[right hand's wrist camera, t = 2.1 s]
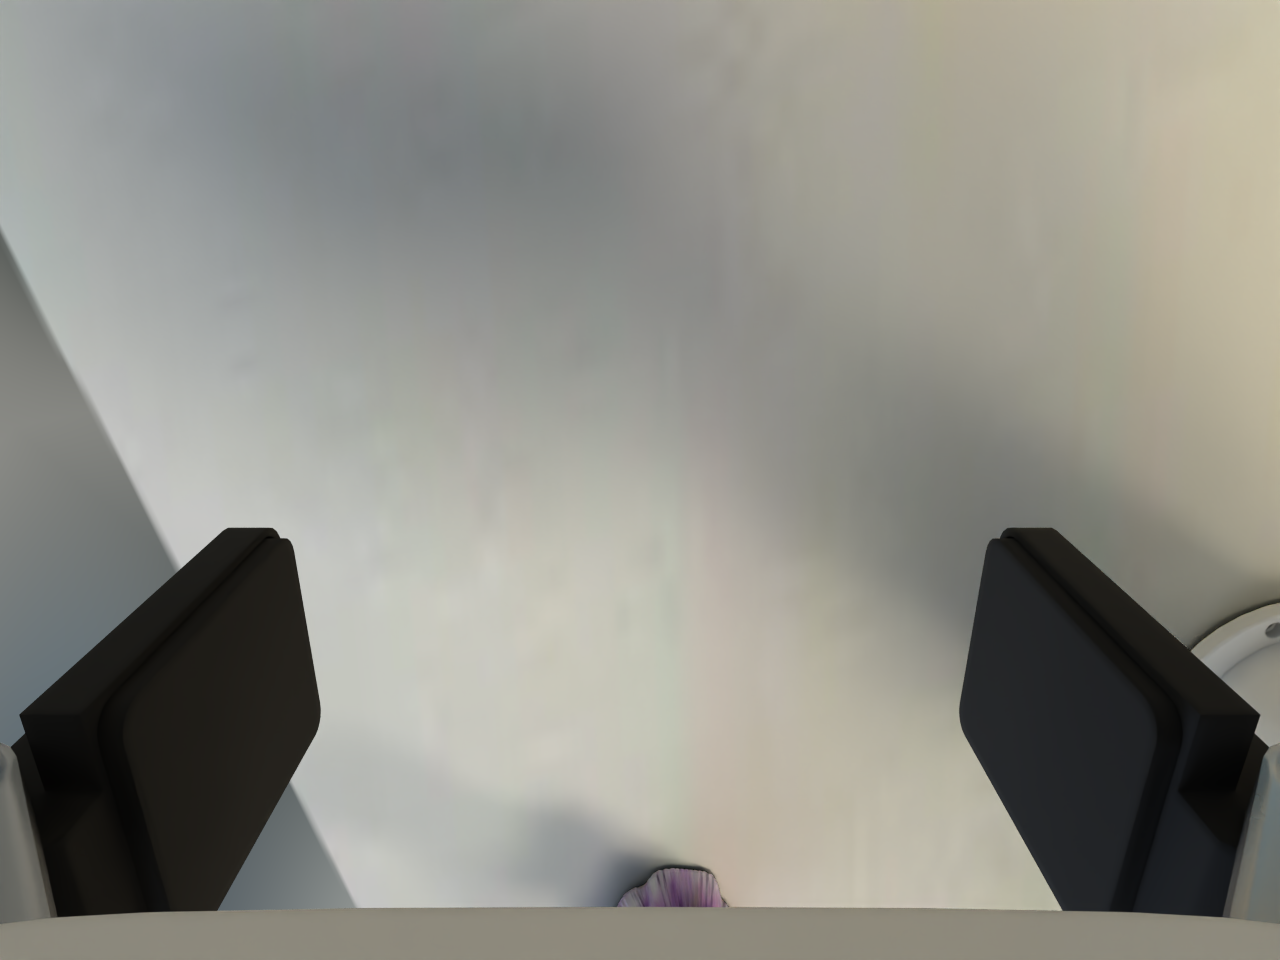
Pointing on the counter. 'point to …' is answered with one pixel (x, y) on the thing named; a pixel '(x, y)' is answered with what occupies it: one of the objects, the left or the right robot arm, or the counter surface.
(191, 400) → the counter surface
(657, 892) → the figurine
